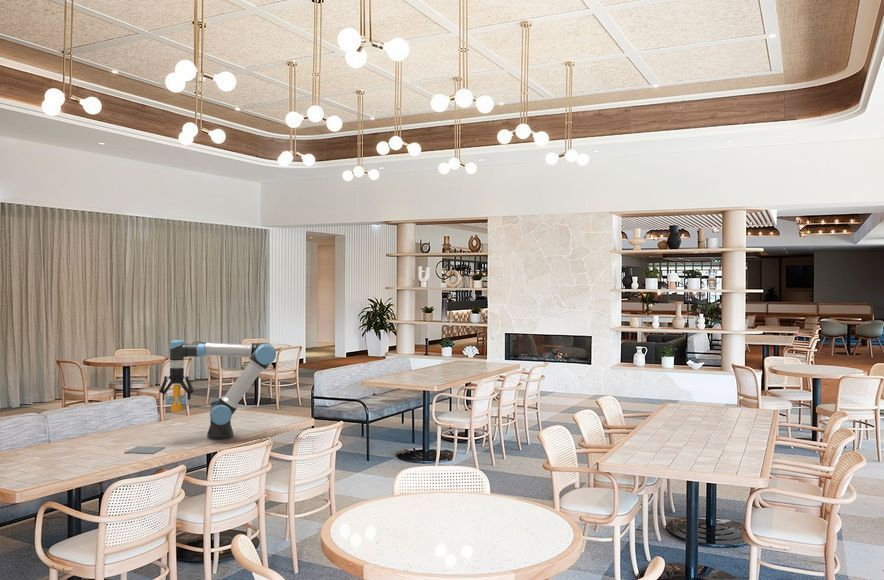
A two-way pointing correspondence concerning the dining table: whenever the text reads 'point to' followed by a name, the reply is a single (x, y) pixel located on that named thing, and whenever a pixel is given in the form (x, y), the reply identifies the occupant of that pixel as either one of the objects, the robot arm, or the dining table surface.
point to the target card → (144, 450)
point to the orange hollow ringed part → (176, 399)
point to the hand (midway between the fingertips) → (176, 405)
